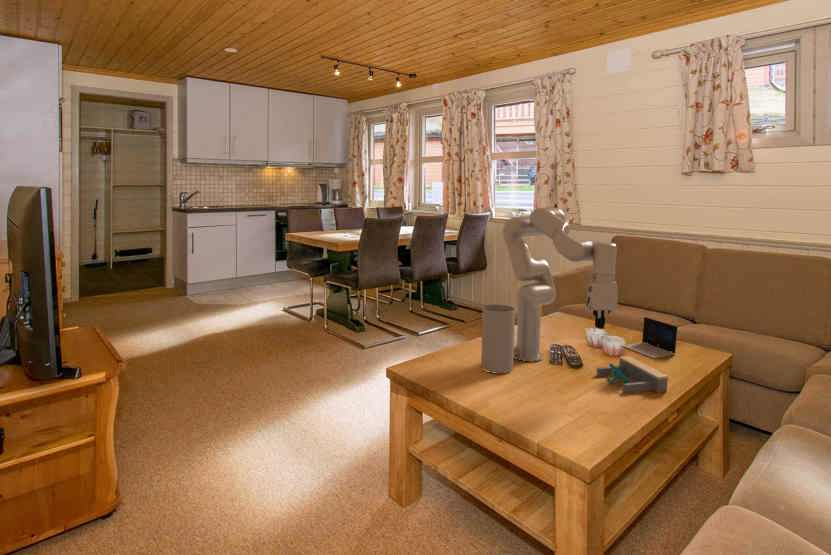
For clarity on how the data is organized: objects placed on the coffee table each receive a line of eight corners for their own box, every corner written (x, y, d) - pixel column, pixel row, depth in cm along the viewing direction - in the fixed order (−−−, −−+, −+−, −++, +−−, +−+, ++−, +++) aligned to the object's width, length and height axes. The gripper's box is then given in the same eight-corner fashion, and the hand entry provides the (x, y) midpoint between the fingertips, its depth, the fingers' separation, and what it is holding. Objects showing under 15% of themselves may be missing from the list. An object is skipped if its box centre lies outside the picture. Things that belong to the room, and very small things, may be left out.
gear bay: (629, 395, 177) (630, 379, 176) (593, 373, 199) (594, 358, 198) (667, 391, 181) (668, 376, 180) (627, 369, 202) (628, 355, 201)
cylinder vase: (475, 366, 207) (476, 306, 202) (501, 362, 211) (503, 303, 207) (491, 376, 195) (493, 313, 191) (519, 372, 200) (521, 310, 196)
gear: (636, 385, 183) (616, 365, 183) (624, 396, 183) (604, 376, 183) (626, 377, 194) (607, 358, 194) (614, 388, 194) (596, 369, 194)
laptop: (621, 347, 231) (623, 319, 229) (642, 343, 236) (644, 316, 234) (653, 359, 215) (656, 329, 212) (675, 355, 220) (678, 326, 217)
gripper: (590, 280, 174) (586, 332, 178) (628, 278, 178) (624, 329, 181) (578, 276, 182) (575, 326, 185) (615, 275, 185) (611, 323, 188)
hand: (599, 327), depth 183 cm, fingers closed
